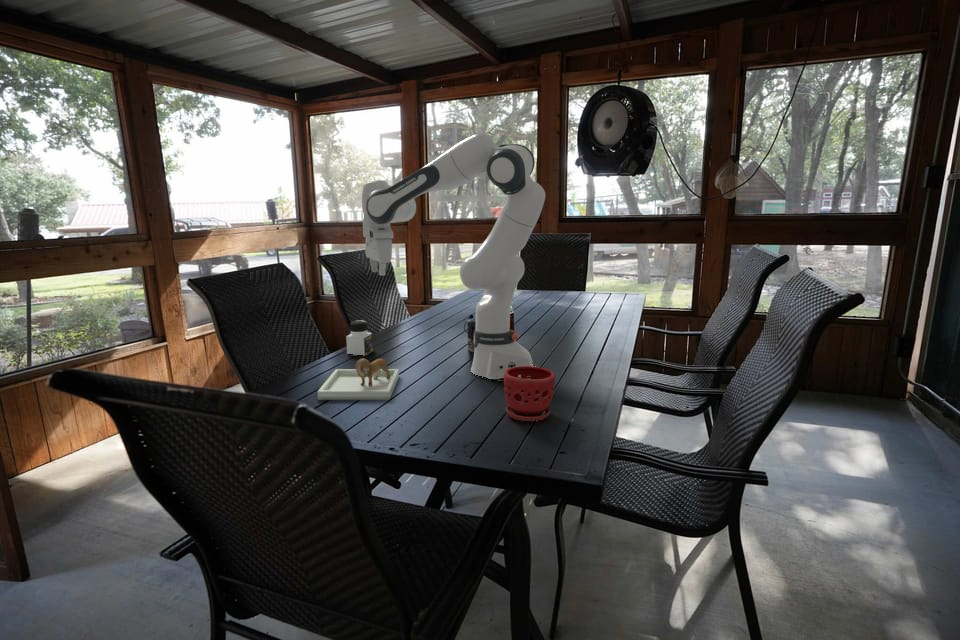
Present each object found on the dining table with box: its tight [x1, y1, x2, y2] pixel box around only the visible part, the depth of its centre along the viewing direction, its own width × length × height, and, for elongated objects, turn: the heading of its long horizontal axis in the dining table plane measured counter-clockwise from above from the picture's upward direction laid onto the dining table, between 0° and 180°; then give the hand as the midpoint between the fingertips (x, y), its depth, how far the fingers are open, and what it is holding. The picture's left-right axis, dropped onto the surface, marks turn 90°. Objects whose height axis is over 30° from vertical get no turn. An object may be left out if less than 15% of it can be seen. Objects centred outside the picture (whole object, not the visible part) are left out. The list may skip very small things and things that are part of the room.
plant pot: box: [503, 366, 556, 421], centre depth 134 cm, size 13×13×12 cm
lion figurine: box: [355, 358, 390, 386], centre depth 156 cm, size 15×5×9 cm, turn 157°
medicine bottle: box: [345, 319, 374, 357], centre depth 189 cm, size 7×7×12 cm
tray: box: [317, 368, 400, 401], centre depth 155 cm, size 20×20×2 cm
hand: (378, 273), depth 172 cm, fingers open, 8 cm apart
